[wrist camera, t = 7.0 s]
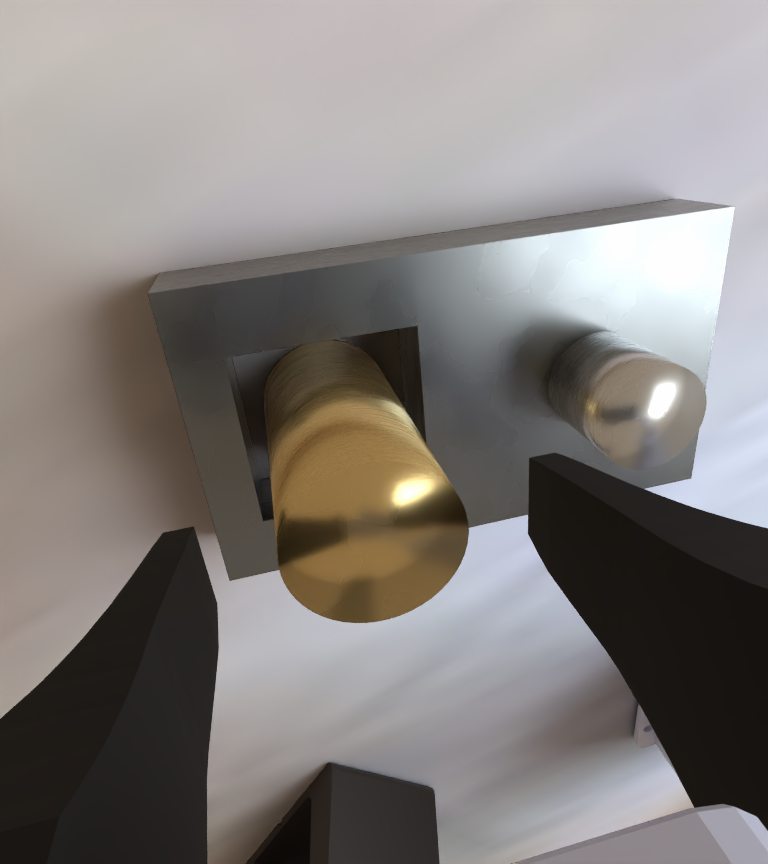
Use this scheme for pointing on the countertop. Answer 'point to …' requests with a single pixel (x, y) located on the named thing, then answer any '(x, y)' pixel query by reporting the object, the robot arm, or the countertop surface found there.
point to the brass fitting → (355, 489)
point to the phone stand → (355, 822)
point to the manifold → (470, 350)
